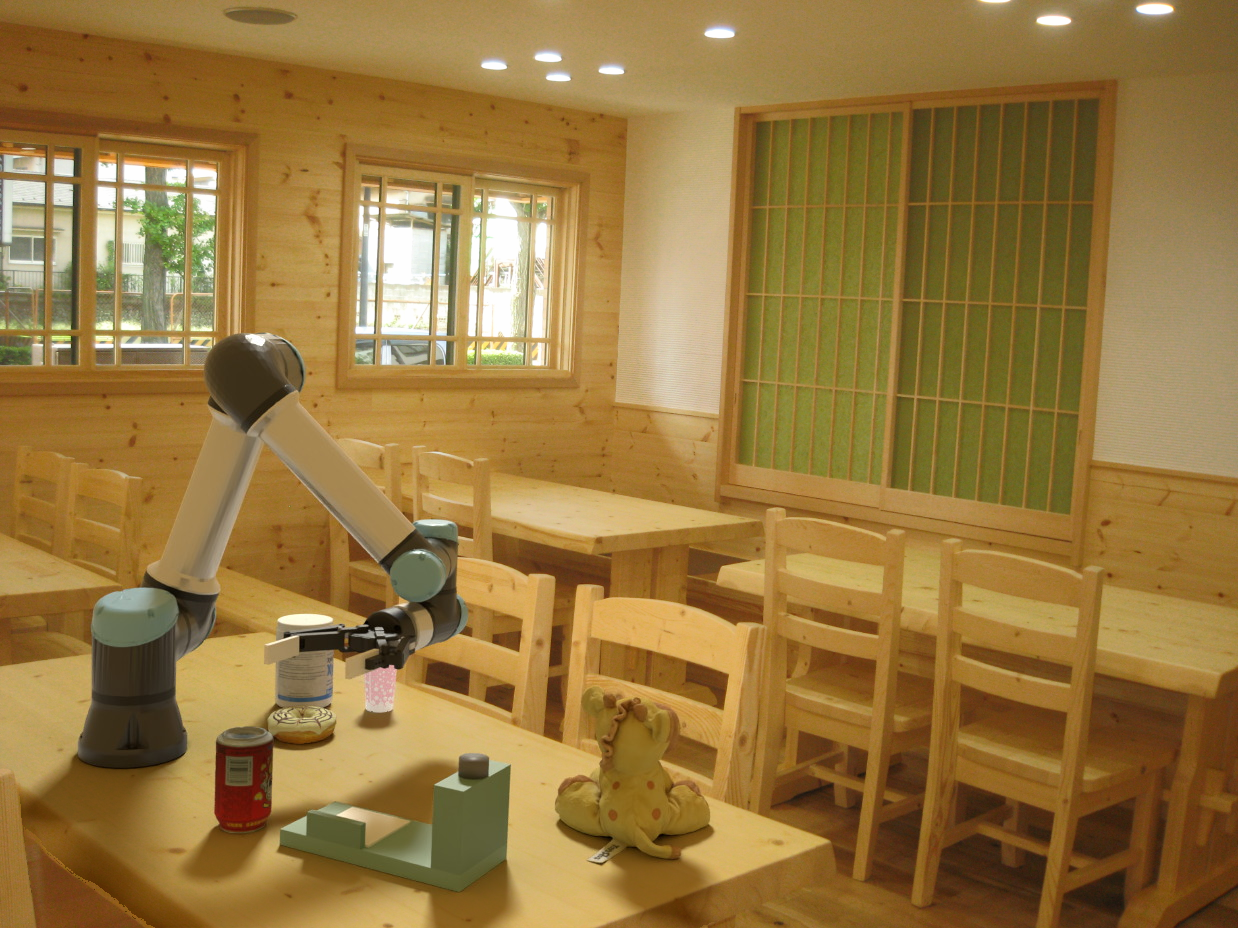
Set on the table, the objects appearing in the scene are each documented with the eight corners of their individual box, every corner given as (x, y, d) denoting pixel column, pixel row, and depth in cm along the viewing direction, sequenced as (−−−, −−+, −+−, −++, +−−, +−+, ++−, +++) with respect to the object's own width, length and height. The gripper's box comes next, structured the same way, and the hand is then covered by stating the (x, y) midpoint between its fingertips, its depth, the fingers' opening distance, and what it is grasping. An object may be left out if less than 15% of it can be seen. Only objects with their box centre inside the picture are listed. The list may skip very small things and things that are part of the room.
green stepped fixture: (279, 844, 156) (282, 734, 154) (334, 815, 166) (337, 712, 164) (459, 891, 145) (464, 774, 144) (506, 858, 155) (511, 748, 154)
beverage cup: (405, 707, 215) (407, 627, 213) (380, 715, 209) (382, 633, 208) (378, 700, 218) (381, 621, 216) (353, 708, 213) (355, 627, 211)
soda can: (272, 833, 159) (274, 738, 158) (213, 837, 157) (215, 741, 156) (270, 812, 166) (272, 722, 164) (214, 816, 163) (215, 724, 162)
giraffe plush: (716, 809, 175) (724, 675, 174) (688, 877, 152) (697, 724, 151) (575, 790, 180) (581, 659, 178) (527, 854, 157) (534, 704, 155)
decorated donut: (260, 745, 192) (261, 721, 192) (274, 724, 203) (275, 701, 203) (329, 747, 193) (330, 723, 193) (340, 725, 204) (340, 703, 203)
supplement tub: (340, 708, 213) (343, 622, 211) (285, 714, 207) (287, 627, 206) (320, 693, 221) (322, 611, 219) (266, 699, 215) (269, 615, 214)
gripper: (467, 667, 184) (382, 703, 165) (328, 644, 195) (233, 675, 175) (468, 617, 184) (383, 647, 164) (329, 596, 194) (234, 622, 175)
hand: (306, 661), depth 170 cm, fingers open, 13 cm apart
